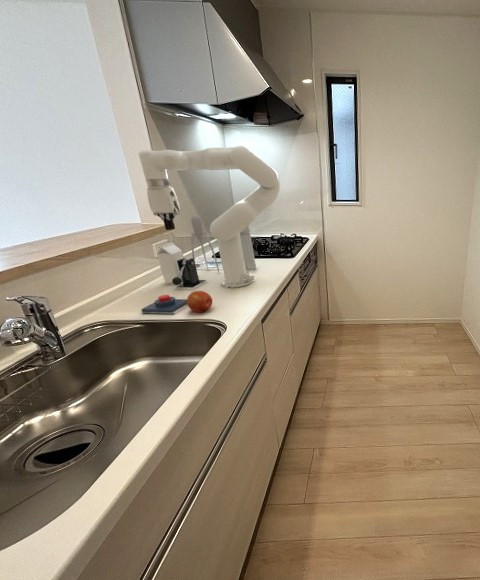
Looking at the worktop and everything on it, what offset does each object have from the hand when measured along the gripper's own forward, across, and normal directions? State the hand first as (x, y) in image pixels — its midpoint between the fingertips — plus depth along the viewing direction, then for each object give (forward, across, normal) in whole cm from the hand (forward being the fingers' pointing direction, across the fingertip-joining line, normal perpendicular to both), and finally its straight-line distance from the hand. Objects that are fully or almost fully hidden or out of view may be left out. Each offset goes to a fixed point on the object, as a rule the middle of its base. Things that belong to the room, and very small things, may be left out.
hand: (170, 229), depth 132 cm
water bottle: (+27, -14, -30) cm, 43 cm away
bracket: (+27, 0, -4) cm, 27 cm away
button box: (+27, -8, +22) cm, 36 cm away
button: (+24, -8, +22) cm, 33 cm away
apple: (+27, -23, +23) cm, 42 cm away
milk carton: (+27, +10, -8) cm, 30 cm away
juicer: (+27, +2, -22) cm, 35 cm away
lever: (+21, 0, -1) cm, 21 cm away
